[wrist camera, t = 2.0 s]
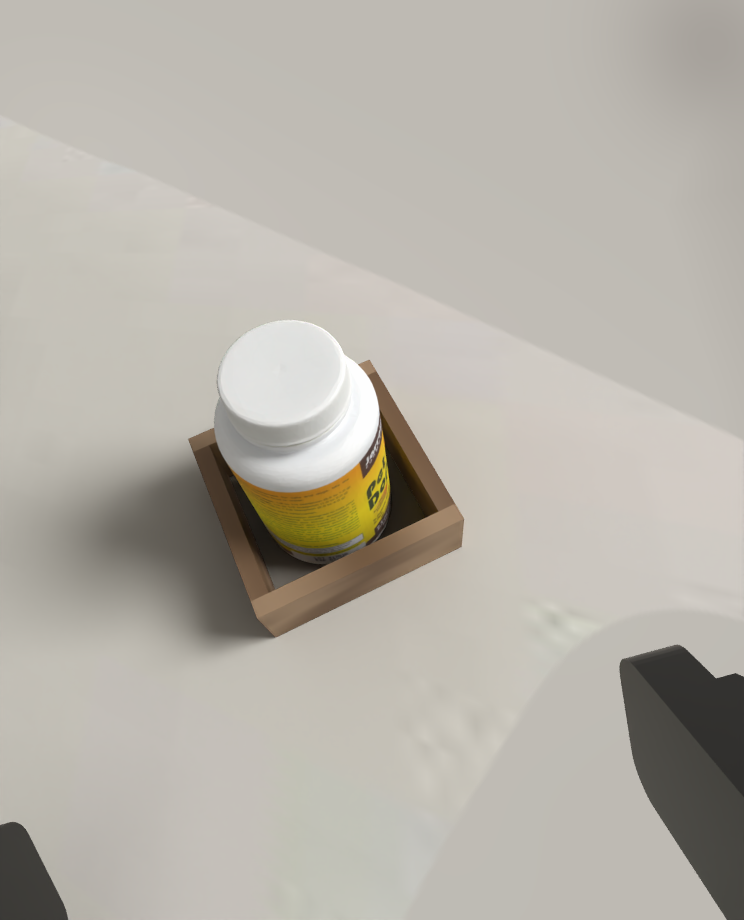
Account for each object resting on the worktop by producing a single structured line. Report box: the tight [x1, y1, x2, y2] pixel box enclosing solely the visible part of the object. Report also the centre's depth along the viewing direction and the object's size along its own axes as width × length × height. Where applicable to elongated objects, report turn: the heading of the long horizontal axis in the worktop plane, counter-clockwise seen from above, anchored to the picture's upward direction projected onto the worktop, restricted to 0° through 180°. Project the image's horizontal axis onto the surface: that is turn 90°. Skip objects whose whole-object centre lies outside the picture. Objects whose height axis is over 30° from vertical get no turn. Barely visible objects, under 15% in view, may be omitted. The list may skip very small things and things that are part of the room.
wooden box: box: [188, 360, 464, 637], centre depth 27 cm, size 8×8×3 cm
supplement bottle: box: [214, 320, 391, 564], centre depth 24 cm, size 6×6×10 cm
